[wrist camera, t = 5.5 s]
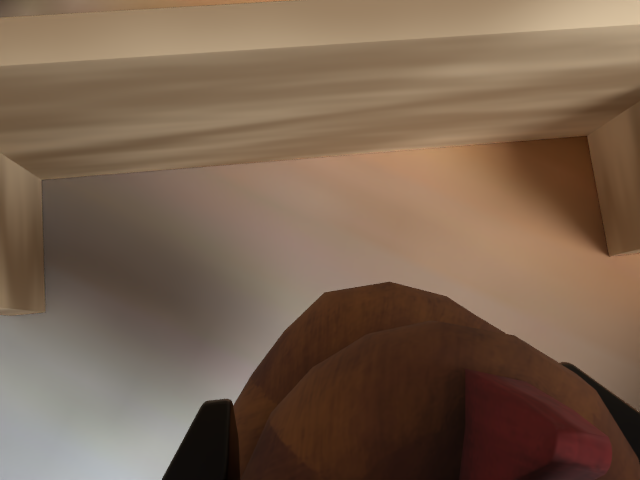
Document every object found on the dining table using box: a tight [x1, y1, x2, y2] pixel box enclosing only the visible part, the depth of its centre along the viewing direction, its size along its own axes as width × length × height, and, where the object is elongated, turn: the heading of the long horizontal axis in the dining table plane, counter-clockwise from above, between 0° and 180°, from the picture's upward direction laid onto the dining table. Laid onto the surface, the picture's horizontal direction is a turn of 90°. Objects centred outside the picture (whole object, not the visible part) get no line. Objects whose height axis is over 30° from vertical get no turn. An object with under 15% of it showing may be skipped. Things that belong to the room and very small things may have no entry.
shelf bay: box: [0, 0, 640, 316], centre depth 18 cm, size 6×24×9 cm, turn 96°
